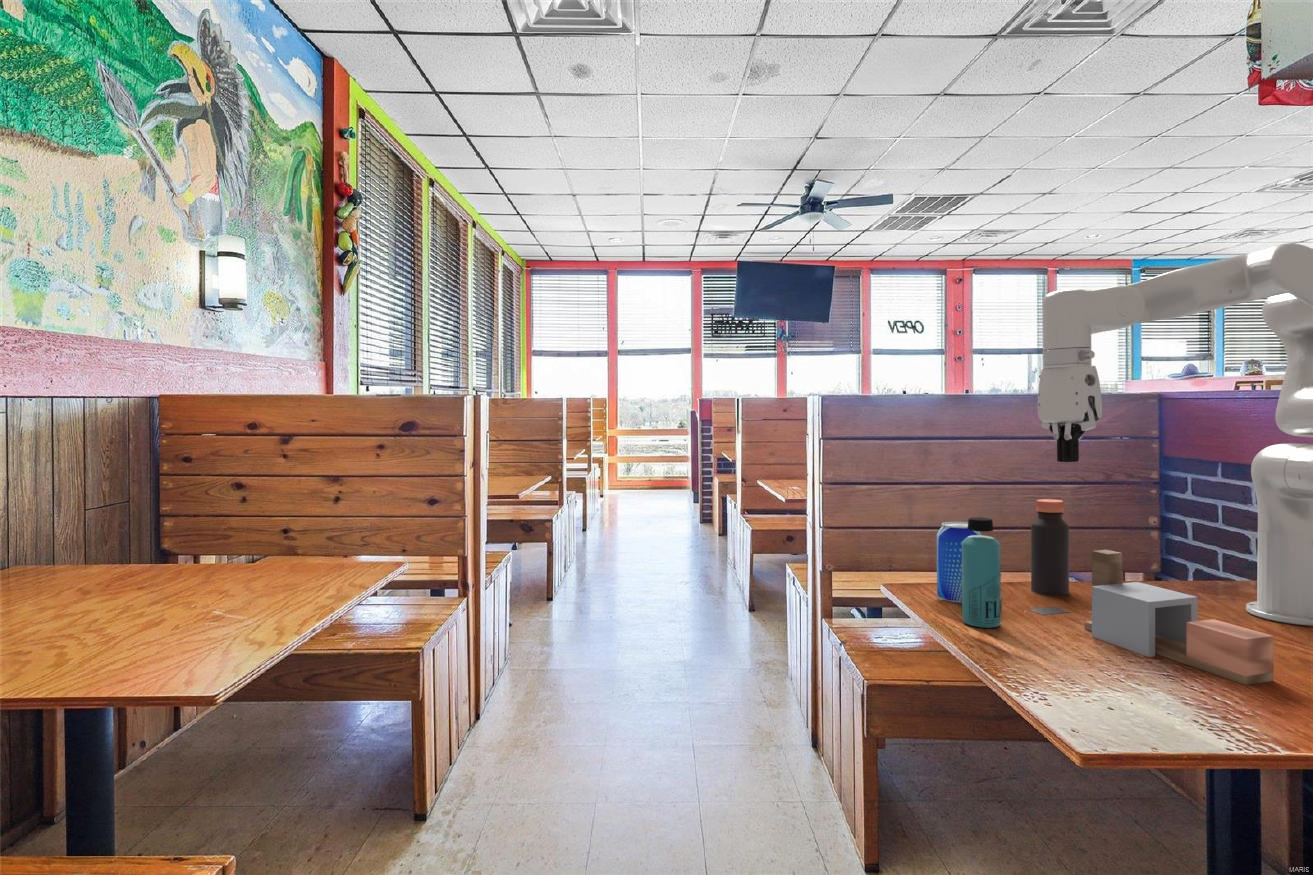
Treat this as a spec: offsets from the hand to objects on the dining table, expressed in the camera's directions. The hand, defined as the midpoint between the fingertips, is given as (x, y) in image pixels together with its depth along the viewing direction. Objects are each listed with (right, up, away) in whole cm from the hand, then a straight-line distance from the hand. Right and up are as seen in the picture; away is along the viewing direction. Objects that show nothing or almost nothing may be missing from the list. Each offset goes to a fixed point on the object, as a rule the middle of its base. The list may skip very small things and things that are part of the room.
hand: (1067, 461), depth 124 cm
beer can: (-13, -29, +14) cm, 35 cm away
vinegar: (+7, -29, +17) cm, 34 cm away
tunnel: (+3, -30, -14) cm, 33 cm away
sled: (+4, -29, -19) cm, 34 cm away
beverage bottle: (-17, -30, -3) cm, 35 cm away
